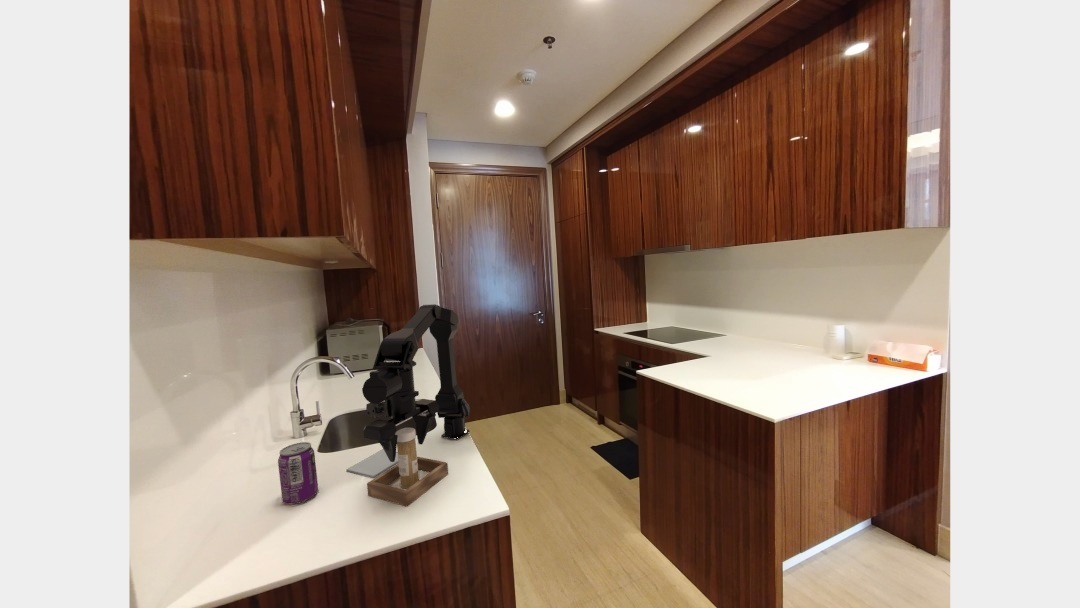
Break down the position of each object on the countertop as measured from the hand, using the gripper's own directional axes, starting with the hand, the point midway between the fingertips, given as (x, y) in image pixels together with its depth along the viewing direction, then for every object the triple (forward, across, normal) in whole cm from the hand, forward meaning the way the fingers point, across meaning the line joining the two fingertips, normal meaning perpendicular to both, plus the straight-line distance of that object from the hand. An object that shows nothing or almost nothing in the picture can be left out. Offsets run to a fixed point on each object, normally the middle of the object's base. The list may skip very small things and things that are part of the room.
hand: (407, 452), depth 89 cm
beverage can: (+8, +13, -21) cm, 26 cm away
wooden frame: (+8, 0, 0) cm, 8 cm away
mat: (+8, -5, -16) cm, 19 cm away
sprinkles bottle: (+8, 0, 0) cm, 8 cm away
